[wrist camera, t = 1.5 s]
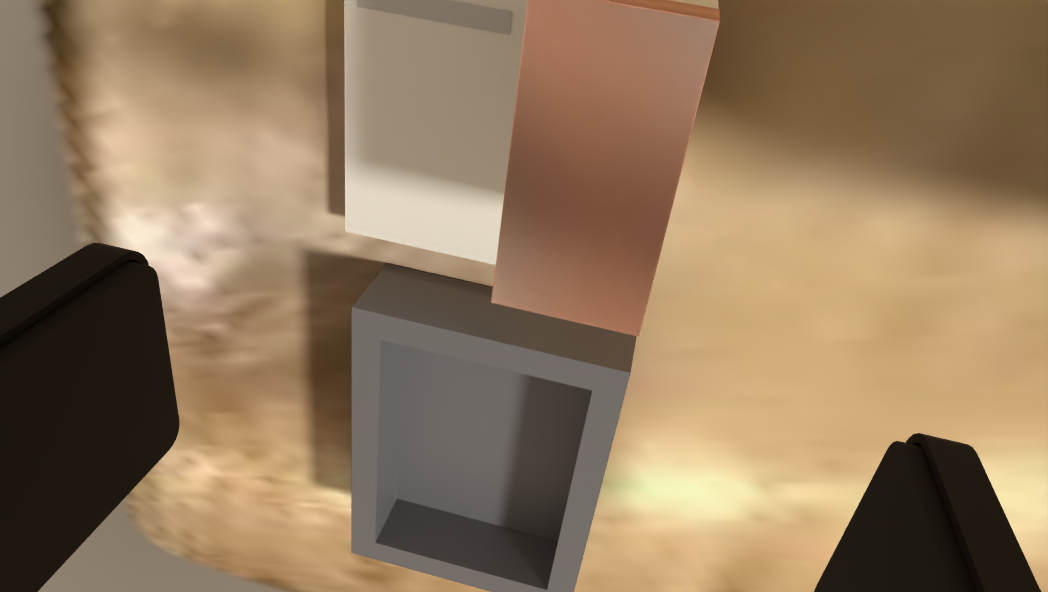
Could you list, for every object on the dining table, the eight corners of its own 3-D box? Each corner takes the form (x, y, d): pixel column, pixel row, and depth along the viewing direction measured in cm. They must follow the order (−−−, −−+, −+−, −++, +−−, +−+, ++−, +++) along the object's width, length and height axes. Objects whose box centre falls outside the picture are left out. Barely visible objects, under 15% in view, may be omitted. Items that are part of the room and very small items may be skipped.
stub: (585, -54, 20) (529, -14, 14) (718, -31, 19) (720, 20, 13) (547, 189, 23) (491, 302, 17) (658, 212, 23) (638, 336, 17)
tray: (386, 263, 26) (351, 307, 24) (638, 320, 25) (630, 373, 22) (379, 498, 32) (351, 552, 30) (580, 552, 31) (568, 612, 29)
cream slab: (359, -199, 19) (342, -202, 18) (588, -165, 18) (582, -166, 17) (357, 219, 25) (344, 231, 24) (526, 256, 25) (519, 271, 24)
